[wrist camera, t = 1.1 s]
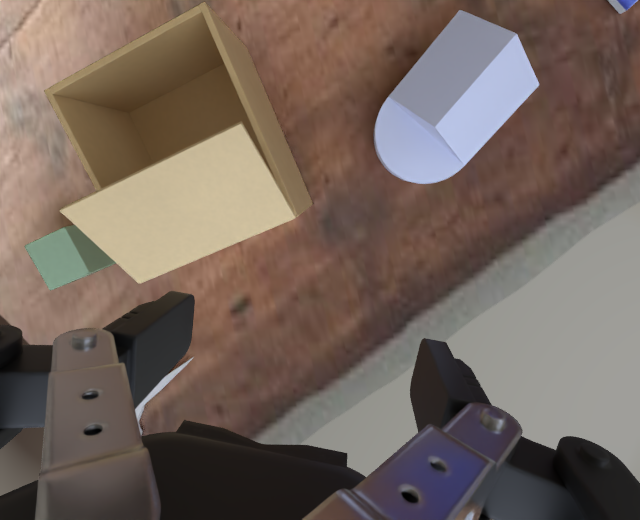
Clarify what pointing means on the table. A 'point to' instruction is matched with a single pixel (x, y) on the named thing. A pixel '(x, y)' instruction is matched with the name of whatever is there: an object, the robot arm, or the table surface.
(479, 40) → the wedge on round base
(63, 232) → the block
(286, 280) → the table surface
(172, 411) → the table surface
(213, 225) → the flap
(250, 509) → the robot arm
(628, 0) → the hard drive
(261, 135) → the carton
